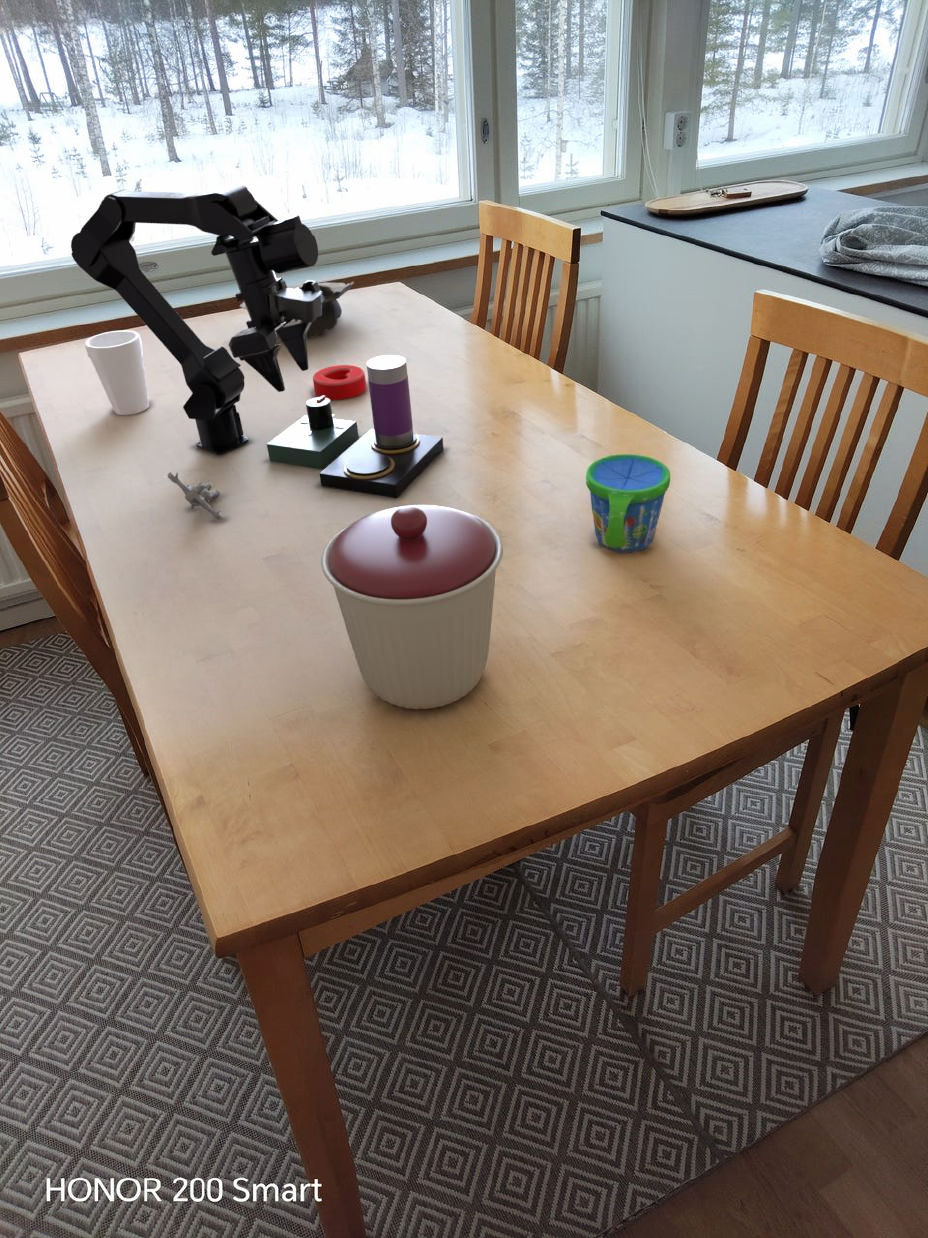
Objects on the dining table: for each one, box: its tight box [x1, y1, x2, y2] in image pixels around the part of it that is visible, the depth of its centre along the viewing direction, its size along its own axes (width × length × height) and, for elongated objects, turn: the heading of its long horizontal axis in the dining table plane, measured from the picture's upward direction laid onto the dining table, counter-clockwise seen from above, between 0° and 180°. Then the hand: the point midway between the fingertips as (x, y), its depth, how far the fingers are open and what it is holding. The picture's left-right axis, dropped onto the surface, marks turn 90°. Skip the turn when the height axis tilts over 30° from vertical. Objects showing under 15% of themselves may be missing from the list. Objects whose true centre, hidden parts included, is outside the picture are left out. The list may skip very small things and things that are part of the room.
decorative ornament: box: [312, 364, 367, 401], centre depth 169 cm, size 10×10×3 cm
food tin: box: [366, 354, 414, 447], centre depth 141 cm, size 6×6×12 cm
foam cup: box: [83, 329, 150, 416], centre depth 165 cm, size 10×9×13 cm
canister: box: [320, 504, 504, 710], centre depth 94 cm, size 18×18×21 cm
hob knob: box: [305, 396, 334, 430], centre depth 149 cm, size 4×4×4 cm
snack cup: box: [585, 453, 671, 554], centre depth 118 cm, size 16×10×10 cm
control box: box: [266, 413, 360, 470], centre depth 149 cm, size 10×13×3 cm
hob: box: [318, 428, 445, 499], centre depth 142 cm, size 13×17×3 cm
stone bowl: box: [239, 281, 355, 338], centre depth 200 cm, size 25×25×9 cm
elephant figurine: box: [167, 472, 224, 522], centre depth 133 cm, size 10×6×9 cm
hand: (293, 380), depth 141 cm, fingers open, 9 cm apart
